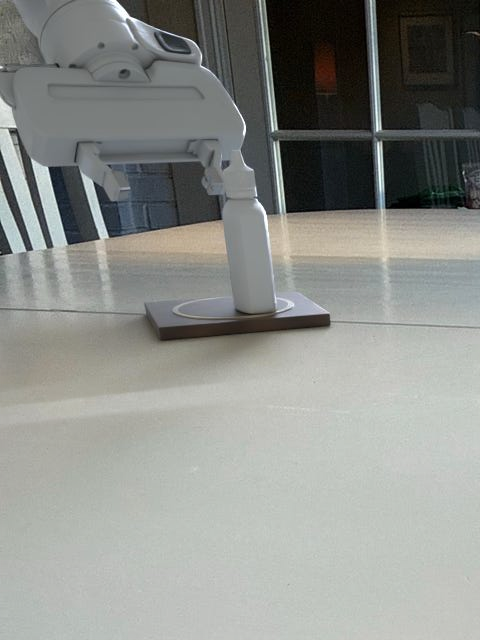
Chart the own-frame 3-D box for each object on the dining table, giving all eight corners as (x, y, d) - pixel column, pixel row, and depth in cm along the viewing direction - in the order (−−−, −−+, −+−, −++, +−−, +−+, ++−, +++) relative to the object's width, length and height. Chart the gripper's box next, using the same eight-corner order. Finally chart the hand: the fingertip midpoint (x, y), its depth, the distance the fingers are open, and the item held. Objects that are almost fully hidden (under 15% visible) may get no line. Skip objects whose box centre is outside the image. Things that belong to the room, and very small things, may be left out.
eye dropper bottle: (289, 302, 80) (272, 148, 73) (271, 315, 75) (252, 151, 69) (241, 302, 80) (220, 148, 74) (220, 314, 75) (196, 151, 69)
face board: (160, 340, 72) (158, 325, 71) (146, 314, 81) (143, 300, 81) (331, 325, 77) (329, 311, 76) (298, 302, 86) (296, 289, 86)
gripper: (-15, 31, 73) (60, 170, 72) (211, 42, 86) (278, 162, 84) (-18, 95, 79) (52, 226, 77) (196, 97, 91) (259, 211, 89)
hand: (172, 192), depth 81 cm, fingers open, 8 cm apart
